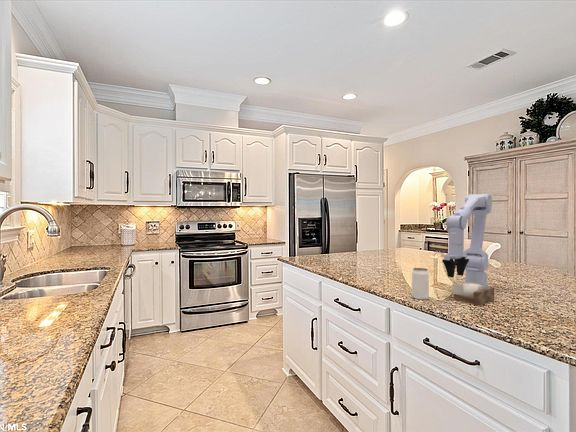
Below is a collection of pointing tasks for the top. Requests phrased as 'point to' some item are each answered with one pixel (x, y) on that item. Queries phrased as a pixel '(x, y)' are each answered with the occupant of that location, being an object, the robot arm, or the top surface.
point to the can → (420, 283)
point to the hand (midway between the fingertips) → (455, 276)
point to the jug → (466, 288)
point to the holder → (478, 297)
